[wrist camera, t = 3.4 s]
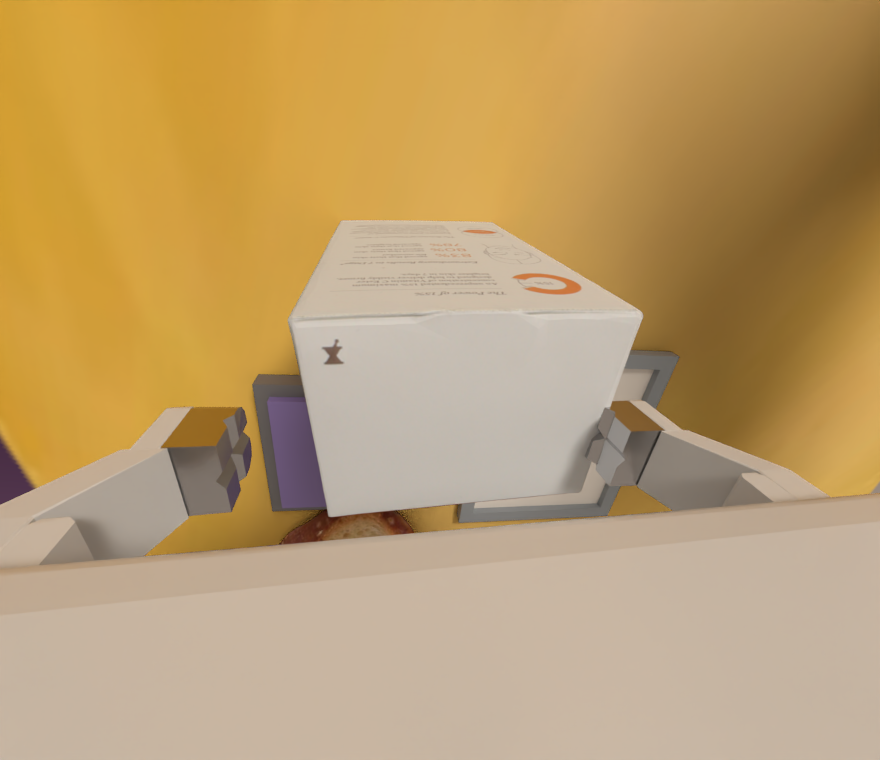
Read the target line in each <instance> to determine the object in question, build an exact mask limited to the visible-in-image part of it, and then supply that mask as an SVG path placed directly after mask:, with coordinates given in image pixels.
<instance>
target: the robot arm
mask: <svg viewBox="0 0 880 760" xmlns="http://www.w3.org/2000/svg"><path fill="white" fill-rule="evenodd" d="M246 424H247V420H246V416H245V411H244V410H243V409H242V407H171V408H167V409H166V410H165V411H164V412H163V413H162V414H161V415H160V416H159V417H158V418H157V419H156V421H155V422H154V423H153V424H152V425H151V426H150V427H149V428H148V429H147V431H146V432H145V433H144V434H143V435H142V436H141V437H140V438H139V439H138V440H137V442H136V443H135V444H134V445H133V446H132V447H131V448H130V449H129V450H119V451H117V452H115V453H113V454H111V455H109V456H106V457H104V458H102V459H100V460H98V461H95V462H93V463H91V464H89V465H87V466H84V467H82V468H80V469H78V470H76V471H74V472H71V473H69V474H67V475H65V476H63V477H60V478H58V479H56V480H54V481H52V482H50V483H47V484H45V485H43V486H41V487H39V488H36V489H34V490H32V491H30V492H28V493H25V494H23V495H21V496H19V497H17V498H15V499H12V500H10V501H8V502H6V503H4V504H2V505H0V760H880V493H875V494H864V495H852V496H840V497H830V496H828V495H827V494H825V493H824V492H822V491H821V490H819V489H818V488H816V487H815V486H813V485H812V484H810V483H809V482H807V481H806V480H804V479H803V478H801V477H800V476H799V475H797V474H796V473H794V472H793V471H791V470H790V469H787V468H785V467H782V466H779V465H777V464H774V463H772V462H769V461H766V460H764V459H761V458H759V457H756V456H753V455H751V454H748V453H746V452H743V451H740V450H738V449H735V448H733V447H730V446H728V445H725V444H722V443H720V442H717V441H715V440H712V439H709V438H707V437H704V436H702V435H699V434H696V433H694V432H691V431H689V430H682V429H681V428H679V427H678V426H677V425H675V424H674V423H673V422H671V421H670V420H669V419H668V418H666V417H665V416H664V415H662V414H661V413H660V412H658V411H657V410H656V409H654V408H653V407H652V406H651V405H649V404H648V403H647V402H645V401H642V400H627V401H612V404H611V407H605V408H604V410H603V413H602V415H601V418H600V420H599V422H598V425H597V428H598V431H599V433H598V434H597V435H596V436H595V437H593V438H592V439H591V442H590V444H589V446H588V449H587V451H586V454H585V457H586V458H587V459H588V460H590V461H591V462H593V463H595V464H596V471H597V472H598V473H599V475H600V476H601V477H602V478H603V479H604V481H605V482H606V483H607V484H608V486H633V485H637V487H638V488H640V489H641V490H643V491H644V492H646V493H647V494H649V495H650V496H652V497H653V498H655V499H656V500H658V501H659V502H661V503H662V504H664V505H665V506H667V507H668V508H670V509H671V510H673V511H667V512H655V513H643V514H632V515H620V516H608V517H597V518H585V519H573V520H561V521H550V522H538V523H527V524H516V525H504V526H493V527H481V528H469V529H458V530H446V531H434V532H423V533H411V534H399V535H388V536H376V537H364V538H353V539H341V540H329V541H318V542H306V543H294V544H283V545H271V546H259V547H248V548H236V549H224V550H213V551H201V552H189V553H178V554H166V555H154V556H144V555H146V554H147V553H148V552H149V551H150V550H152V549H153V548H154V547H155V546H156V545H157V544H159V543H160V542H161V541H162V540H163V539H164V538H166V537H167V536H168V535H169V534H170V533H171V532H173V531H174V530H175V529H176V528H177V527H179V526H180V525H181V524H182V523H183V522H184V521H186V520H187V519H188V518H189V517H188V516H193V515H204V514H214V513H225V512H232V510H233V507H234V505H235V502H236V500H237V498H238V495H239V493H240V490H241V489H240V484H239V481H240V480H242V479H243V478H245V477H246V476H247V473H248V471H249V468H250V462H251V456H252V455H251V442H250V438H249V437H248V436H247V435H246V434H245V433H244V432H243V430H244V428H245V426H246Z"/></svg>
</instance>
